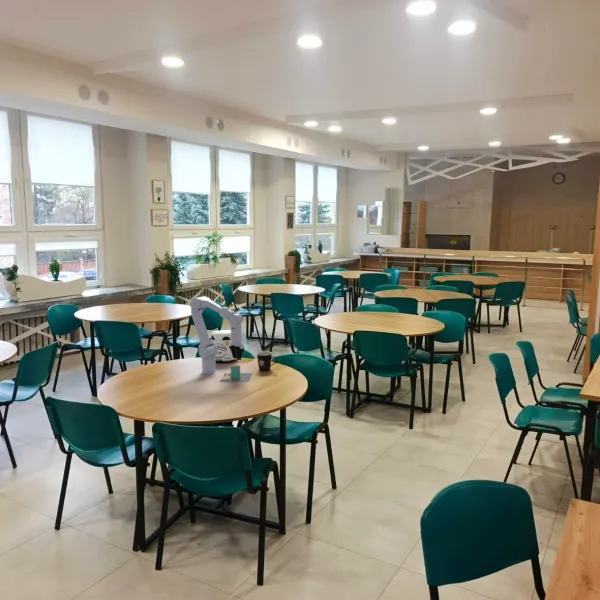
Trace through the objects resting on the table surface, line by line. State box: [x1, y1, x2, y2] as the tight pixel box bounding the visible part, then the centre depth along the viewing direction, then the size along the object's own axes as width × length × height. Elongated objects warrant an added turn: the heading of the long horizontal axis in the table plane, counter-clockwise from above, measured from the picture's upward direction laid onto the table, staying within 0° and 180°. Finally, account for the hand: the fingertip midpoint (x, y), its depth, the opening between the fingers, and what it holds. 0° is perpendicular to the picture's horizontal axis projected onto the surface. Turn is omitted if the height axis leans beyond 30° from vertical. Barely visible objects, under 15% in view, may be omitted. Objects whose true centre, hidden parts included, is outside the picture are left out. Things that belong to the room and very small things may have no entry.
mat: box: [219, 372, 253, 383], centre depth 303 cm, size 18×16×1 cm
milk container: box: [210, 329, 237, 363], centre depth 342 cm, size 17×17×18 cm
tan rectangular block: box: [230, 365, 242, 379], centre depth 301 cm, size 2×5×7 cm, turn 87°
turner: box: [220, 371, 231, 381], centre depth 305 cm, size 14×4×1 cm, turn 177°
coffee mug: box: [256, 351, 278, 372], centre depth 317 cm, size 12×9×10 cm
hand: (237, 359), depth 306 cm, fingers open, 4 cm apart
